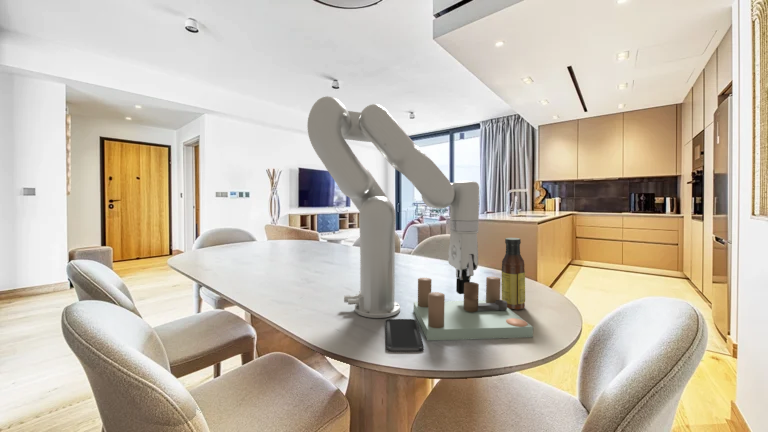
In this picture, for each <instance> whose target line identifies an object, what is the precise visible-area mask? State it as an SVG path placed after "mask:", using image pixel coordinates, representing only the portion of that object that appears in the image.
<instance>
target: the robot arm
mask: <svg viewBox="0 0 768 432" xmlns="http://www.w3.org/2000/svg"><path fill="white" fill-rule="evenodd" d="M306 126H307V127H306V128H307V134H308V135H307V136H308V138H309V141H310V144H311V146H312V147H313V150H314V151H315V154H316V155H317V157H318V158H319V159H320V161H321V162H322V164H323V165H324V168H325V169H326V170H327V172H328V173H329V175H330V176H331V177H332V179H333V180H334V182H335V183H336V185H337V186H338V189H339V190H340V191H341V193H342V194H343V195H344V196H346V197H348V198H349V199H350V201H351V202H352V203H353V204H354V206H355V207H356V209H357V210H358V212H359V216H358V222H359V223H358V225H359V254H360V255H359V258H360V259H359V263H360V264H359V265H360V268H359V270H360V272H359V274H360V281H359V282H360V283H359V285H360V289H359V290H360V291H358V292H359V293H356V294H355V295H349V294H346V295H344V296H343V297H344V298H343V301H344V303H347V305H349V306H350V305H354V312H355V313H356V314H357V315H359V316H361V317H365V318H370V319H383V318H384V319H385V318H390V317H393V316H396V315H397V314H399V313H400V311H401V305H400V304H399V303H398V302H397V301H395V293H396V292H395V282H396V281H395V278H396V277H395V276H396V275H395V273H396V272H395V271H396V269H395V267H396V265H395V263H396V262H395V260H396V259H395V258H396V257H395V256H396V255H395V254H396V247H395V246H396V245H395V244H396V209H395V206H394V204H393V203H392V201H391V200H390V198H389V197H388V196H387V195H386V193H385V191H384V190H383V188H381V186H380V185H379V183H378V182H377V180H376V179H375V178H374V177H373V174H372V173H371V172H370V171H369V170H368V169H367V167H365V166H364V165H363V164H362V162H361V161H360V160H359V158H358V157H357V156H356V154H355V153H354V152H353V150H352V149H351V147H350V145H349V143H347V141H348V140H349V141H350V140H351V141H357V142H365V143H372V144H373V145H374V146H375V148H376V149H377V150H378V151H379V152H380V154H381V155H382V157H384V159H386V161H387V162H388V164H390V165H391V166H392V168H393V169H395V170H396V171H398V172H399V173H401V174H402V175H403V176H404V177H405V178H406V179H407V180H408V181H409V182H410V183H411V184H412V185H413V186H414V188H416V190H417V191H418V192H419V193H420V195H421V200H422V201H423V203H424V204H425V205H426V206H428V207H429V208H432V209H438V210H440V209H445V208H448V207H449V208H450V209H449V212H450V213H449V223H450V224H449V232H450V234H449V235H450V236H449V242H448V259H447V260H448V261H447V263H448V264H449V266H450V265H451V267H453V268H454V269H455V277H456V281H455V282H456V287H455V288H456V290H455V292H456V293H457V294H458V295H464V283H465V282H471V278H472V277H474V274H475V273H474V271H476V270H477V269H478V268H479V267H478V265H479V245H478V234H479V227H480V226H479V222H480V221H479V220H480V219H479V217H480V216H479V215H480V208H479V207H480V185H479V183H478V182H477V181H474V180H473V181H471V180H462V181H461V180H458V181H454V182H451V181H450V180H449V178H447V176H446V175H445V173H444V172H443V171H442V170H441V169H440V168H439V167H438V166H437V164H436V163H435V162H434V161H433V160H432V159H431V158H430V157H429V156H428V155H427V154H426V153H425V152H424V151H423V150H422V149H421V148H420V147H419V146H418V145H417V144H416V143H415V142H414V140H413V139H411V138H410V136H409V135H408V134H407V133H406V131H404V129H403V128H402V127H401V126H400V125H399V123H398V122H397V121H396V119H395V118H394V117H393V116H392V115H391V114H390V113H389V111H388V110H387V109H386V108H385V107H383V106H382V105H380V104H377V103H375V104H374V103H372V104H369V105H367V106H365V108H363V109H362V110H361V111H360V112H359V111H353V110H352V111H351V110H347V108H346V106H345V105H344V104H343V103H342V102H341V101H340V100H339V99H338V98H336V97H334V96H328V95H327V96H322V97H321V98H319V99H316V101H315V103H314V104H313V105H312V107H311V109H310V111H309V114H308V117H307V125H306ZM346 140H347V141H346Z"/></svg>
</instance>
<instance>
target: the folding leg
mask: <svg viewBox="0 0 768 432" xmlns="http://www.w3.org/2000/svg"><path fill="white" fill-rule="evenodd" d="M479 285H480V284H479V283H477V282H475V281H474V282H473V281H470V282H465V283H464V294H463V301H464V310H466V311H469V312H476V311H478V310H503V311H504V310H507V302H506V301H504V300H502V299H500V300H496V301H495V303H478V301H479V289H480V288H479Z"/></svg>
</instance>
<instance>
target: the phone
mask: <svg viewBox="0 0 768 432" xmlns="http://www.w3.org/2000/svg"><path fill="white" fill-rule="evenodd" d="M424 348H425V345H424V343H423V338H422V335H421V331H420V328H419V324H418V320H416V319H413V318H388V319H386V320H385V350H386V351H387V352H390V353H420V352H421V353H422V352H423V351H424Z"/></svg>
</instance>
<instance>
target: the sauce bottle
mask: <svg viewBox="0 0 768 432" xmlns="http://www.w3.org/2000/svg"><path fill="white" fill-rule="evenodd" d="M504 239H505V241H504V243H505V255H504V256H503V258H502V260H501V300H504V301H506V302H507V308H509V309H510V310H516V311H519V310H523V309H525V308H526V306H525V305H526V270H525V260H524V258H523V257H522V255H521V243H522V242H521V238H520V237H519V238H518V237H506V238H504Z"/></svg>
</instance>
